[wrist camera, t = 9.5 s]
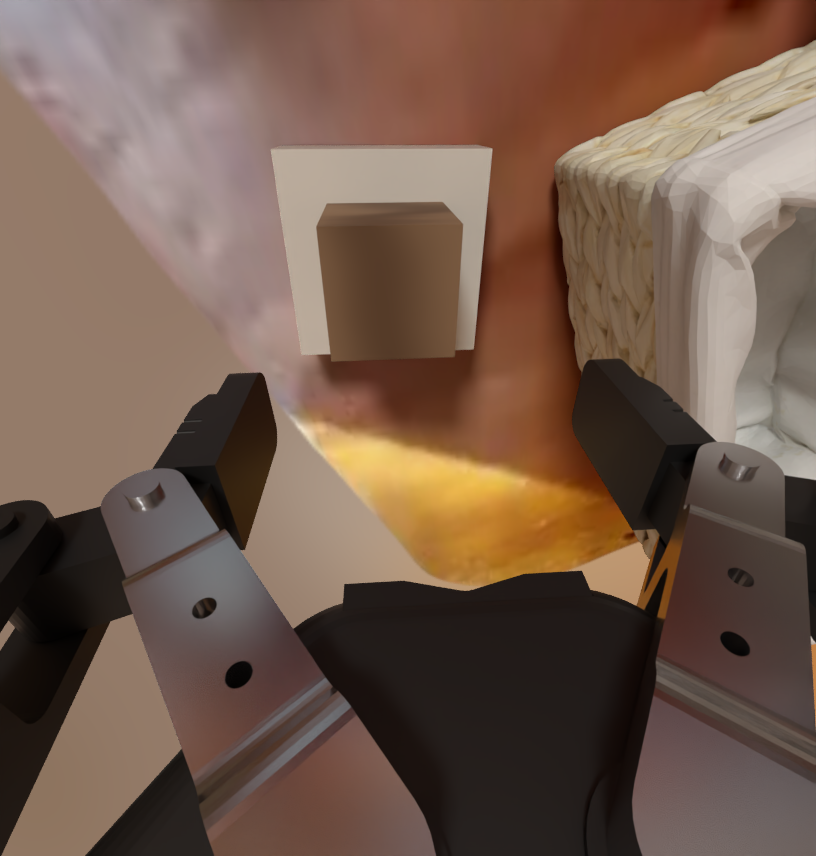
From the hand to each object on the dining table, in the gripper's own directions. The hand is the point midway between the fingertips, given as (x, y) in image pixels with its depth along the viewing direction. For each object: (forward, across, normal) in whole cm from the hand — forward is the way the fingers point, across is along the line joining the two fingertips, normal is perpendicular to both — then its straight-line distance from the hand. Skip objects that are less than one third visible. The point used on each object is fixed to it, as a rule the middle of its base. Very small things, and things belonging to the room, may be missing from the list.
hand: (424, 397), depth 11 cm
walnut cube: (+12, +1, 0) cm, 12 cm away
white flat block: (+15, +1, 0) cm, 15 cm away
